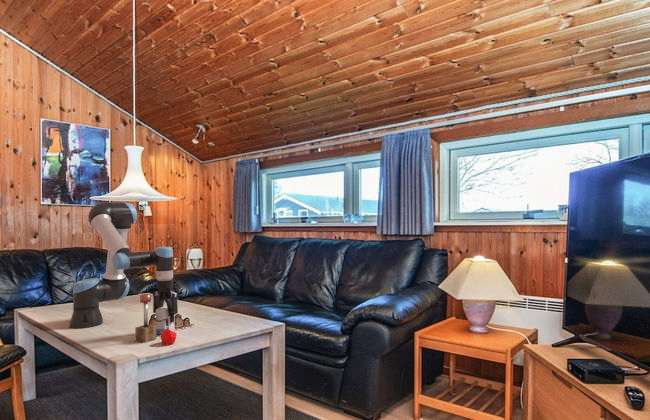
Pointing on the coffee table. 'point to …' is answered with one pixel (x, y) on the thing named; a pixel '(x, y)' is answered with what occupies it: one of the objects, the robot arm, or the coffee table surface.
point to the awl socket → (145, 333)
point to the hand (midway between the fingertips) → (165, 328)
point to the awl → (145, 306)
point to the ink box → (162, 320)
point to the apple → (168, 337)
